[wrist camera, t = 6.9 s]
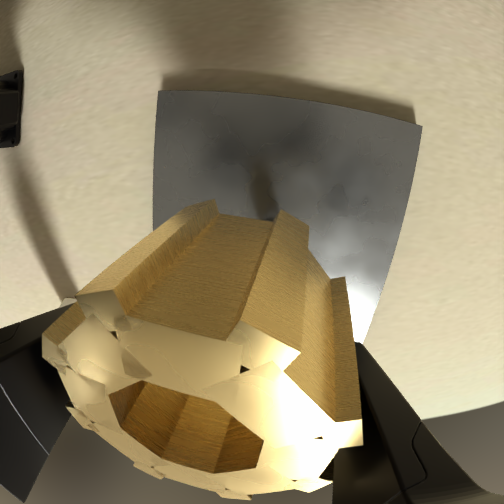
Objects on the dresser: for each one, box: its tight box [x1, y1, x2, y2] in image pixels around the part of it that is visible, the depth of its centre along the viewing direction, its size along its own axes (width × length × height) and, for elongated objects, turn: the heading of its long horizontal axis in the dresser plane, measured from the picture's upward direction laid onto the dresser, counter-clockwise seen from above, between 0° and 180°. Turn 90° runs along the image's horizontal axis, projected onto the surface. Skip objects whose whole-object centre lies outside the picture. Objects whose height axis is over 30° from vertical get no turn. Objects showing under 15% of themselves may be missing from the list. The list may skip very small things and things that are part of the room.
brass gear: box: [42, 199, 363, 500], centre depth 8 cm, size 7×7×5 cm
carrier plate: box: [153, 91, 423, 343], centre depth 16 cm, size 14×14×4 cm
